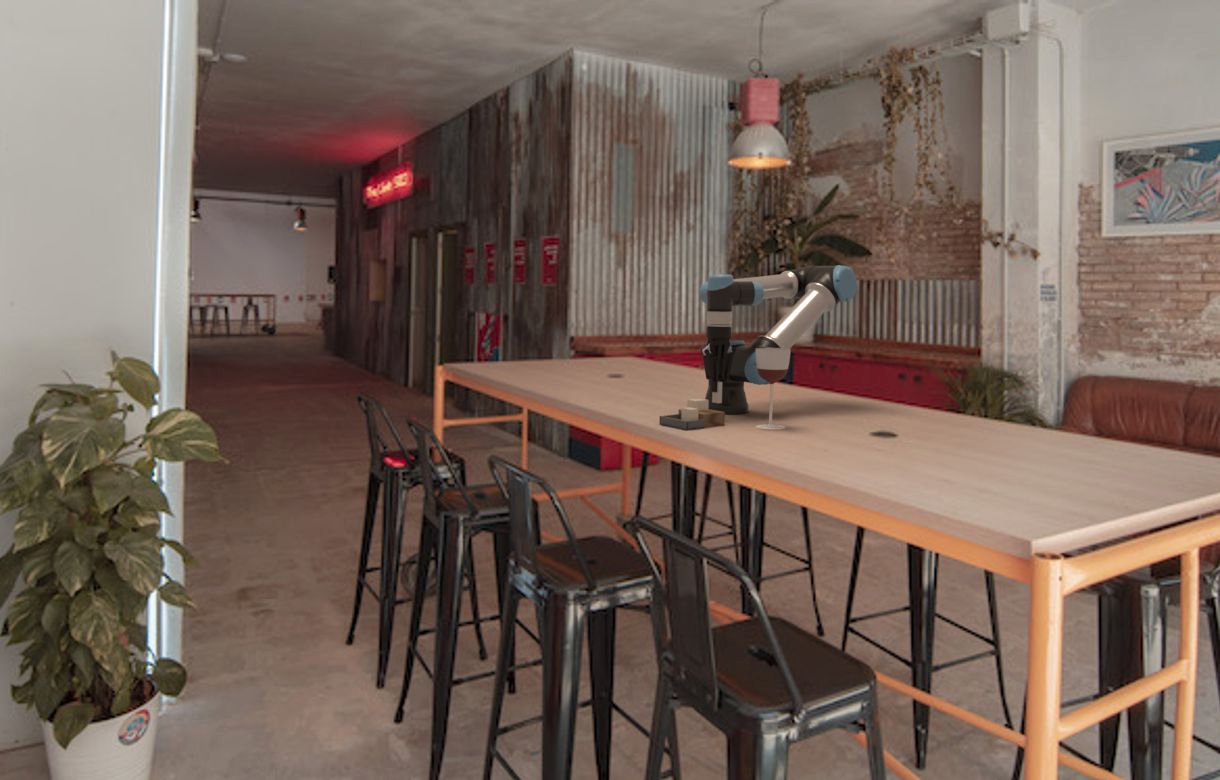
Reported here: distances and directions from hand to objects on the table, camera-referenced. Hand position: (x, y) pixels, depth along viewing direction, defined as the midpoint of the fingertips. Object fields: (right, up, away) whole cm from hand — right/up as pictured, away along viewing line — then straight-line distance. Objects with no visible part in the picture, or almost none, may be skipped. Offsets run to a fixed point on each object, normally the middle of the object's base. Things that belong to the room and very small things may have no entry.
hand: (716, 402), depth 259 cm
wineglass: (+14, -7, -10) cm, 19 cm away
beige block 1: (-6, -2, -4) cm, 8 cm away
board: (-6, -6, -6) cm, 11 cm away
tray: (-12, -7, -11) cm, 18 cm away
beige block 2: (-8, -4, -12) cm, 15 cm away
